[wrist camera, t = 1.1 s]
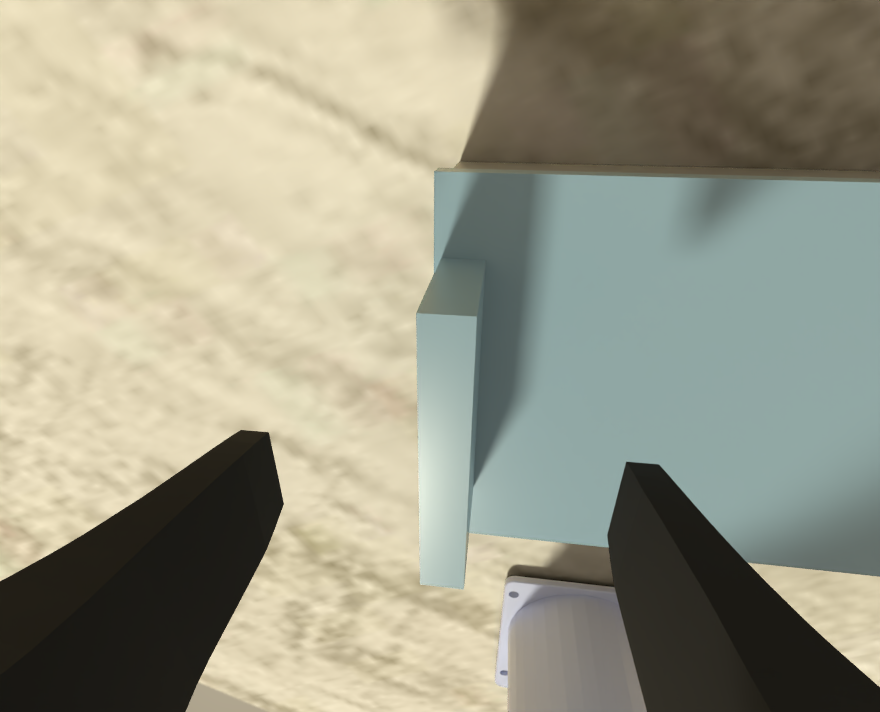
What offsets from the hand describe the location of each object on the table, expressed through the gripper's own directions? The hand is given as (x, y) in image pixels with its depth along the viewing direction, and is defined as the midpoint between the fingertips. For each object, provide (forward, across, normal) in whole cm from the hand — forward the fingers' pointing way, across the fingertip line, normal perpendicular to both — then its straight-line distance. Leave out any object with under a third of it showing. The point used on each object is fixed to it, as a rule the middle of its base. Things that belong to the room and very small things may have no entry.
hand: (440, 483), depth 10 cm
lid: (+6, -9, +1) cm, 11 cm away
